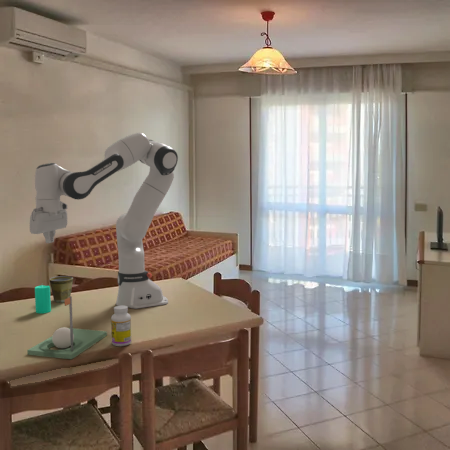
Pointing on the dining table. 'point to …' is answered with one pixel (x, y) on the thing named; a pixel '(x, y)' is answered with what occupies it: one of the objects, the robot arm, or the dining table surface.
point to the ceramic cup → (61, 287)
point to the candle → (42, 299)
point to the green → (80, 343)
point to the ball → (62, 338)
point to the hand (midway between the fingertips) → (49, 242)
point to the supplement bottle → (121, 326)
